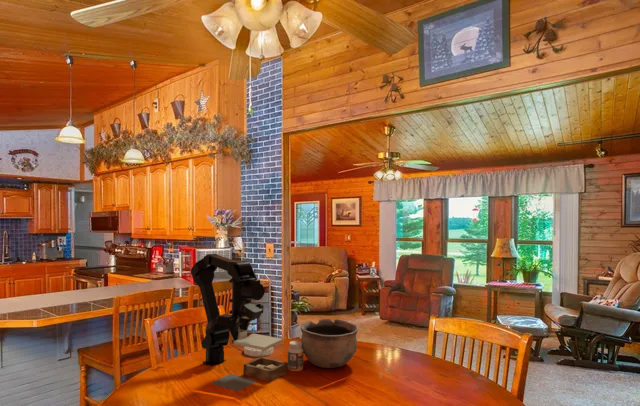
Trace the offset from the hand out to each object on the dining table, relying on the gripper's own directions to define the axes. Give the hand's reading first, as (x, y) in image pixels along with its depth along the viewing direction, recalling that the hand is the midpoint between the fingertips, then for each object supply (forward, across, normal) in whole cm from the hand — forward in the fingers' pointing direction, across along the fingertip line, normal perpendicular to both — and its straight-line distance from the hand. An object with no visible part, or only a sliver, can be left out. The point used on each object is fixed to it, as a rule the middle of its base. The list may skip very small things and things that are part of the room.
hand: (239, 339), depth 151 cm
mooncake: (+12, +21, +7) cm, 26 cm away
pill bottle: (+12, +13, -16) cm, 24 cm away
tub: (+12, +4, -9) cm, 16 cm away
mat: (+12, -8, -5) cm, 15 cm away
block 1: (+11, +3, -8) cm, 14 cm away
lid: (+1, 0, -7) cm, 7 cm away
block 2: (+11, +5, -11) cm, 16 cm away
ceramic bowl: (+12, +24, -24) cm, 36 cm away
